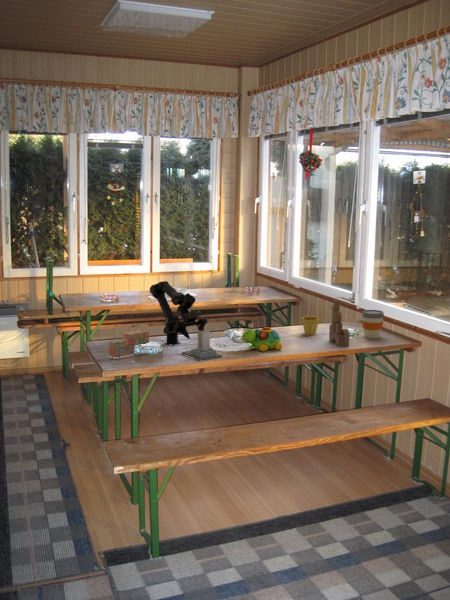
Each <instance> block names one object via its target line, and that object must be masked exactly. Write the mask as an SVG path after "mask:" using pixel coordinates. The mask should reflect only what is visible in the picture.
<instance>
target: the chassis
mask: <svg viewBox="0 0 450 600" xmlns="http://www.w3.org/2000/svg"><path fill="white" fill-rule="evenodd" d="M182 353H183V354H182ZM181 354H182V355H184V354H185V355H184V356H186V355H188V356H190V357H189V358H191V357H193V358H195V359H194V360H196V359H198V360H204V361H207V360H206V359H209V360H212V359H211V358H215V359H217V358H216V357H220V358H222V357H223V354H220V353H218V352H217V349H213V348H212V347H210V351H208V352H202V353H201V352H199V351H198V347H197V348H192V349H191V350H187V351H186V350H185V351H182V352H181ZM188 356H187V357H188ZM221 356H222V357H221ZM193 358H192V359H193ZM198 360H197V361H198Z"/></svg>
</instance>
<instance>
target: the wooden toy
mask: <svg viewBox="0 0 450 600" xmlns="http://www.w3.org/2000/svg"><path fill="white" fill-rule="evenodd" d="M340 304H341V301H340V300H334V303H333V305H332V306H331V310H332V312H331V313H332V314H331V316H332V317H331V324H330V325H329V333H328V335H329V336H328V341H329V342H330V343H335V345H336V346H337V347H339V348H340V347H350V331H349V329H348V328H347V327H343V322H342V319H343V318H342V315H343V314H342V312H341V310H340V306H341V305H340Z"/></svg>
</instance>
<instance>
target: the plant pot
mask: <svg viewBox="0 0 450 600" xmlns="http://www.w3.org/2000/svg"><path fill="white" fill-rule="evenodd" d="M301 324H302V326H303V332H304V335H306V336H314V335H316V333H317V329H318V326H319V324H320V318H319V317H317V316H311V315H309V316H303V317H302V318H301Z"/></svg>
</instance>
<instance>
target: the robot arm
mask: <svg viewBox="0 0 450 600" xmlns="http://www.w3.org/2000/svg"><path fill="white" fill-rule="evenodd" d="M149 293H150V294H151V296H152V297H153V298H155V299H156V300H157V302H158V305H159V307H160V309H161V312H162V313H163V317H164V319H165V324H164V326H165V327H164V328H163V330H162V331H163V334H165V335H166V342H167V344H166V345H169V344H172V345H171V346H175V345H174V344H176V345H178V344H177V343H179V344H180V343H181V342H180V341H179V334H182V335H183V336H184V337H185V338H186V339H188V340H190V339H191V337H190V334H189V332H188V330H187V327H193V326H196V327H197V330H198V331H203V330H205V326H206V324H207V323H208V319H207V318H206V317H201V318H200V316H201V315H202V312H201V310H200V309H196V310H195V311H191V310H190V309H192V307H193V306H194V304H195V303H196V298H195V296H193V295H191V294H190V292H189V293H185V294H184V293H182V292H179V291H177V290H176V289H175V288H174V287H173V286H172V285H170V283H169V281H167V280H165V281H159V282H158V283H155V284H151V286H150V287H149ZM166 295H167V296H168V297H170V302H171V303H172V304H173V305H174V306H177V309H176V312H177V313H179V315H180V316H181V317H180V318H179V316H177V315H176V316H175V315H174V313H173V311H172V309H171V305H170V304H169V302H168V300H167V298H166ZM197 318H198V320H197Z"/></svg>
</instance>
